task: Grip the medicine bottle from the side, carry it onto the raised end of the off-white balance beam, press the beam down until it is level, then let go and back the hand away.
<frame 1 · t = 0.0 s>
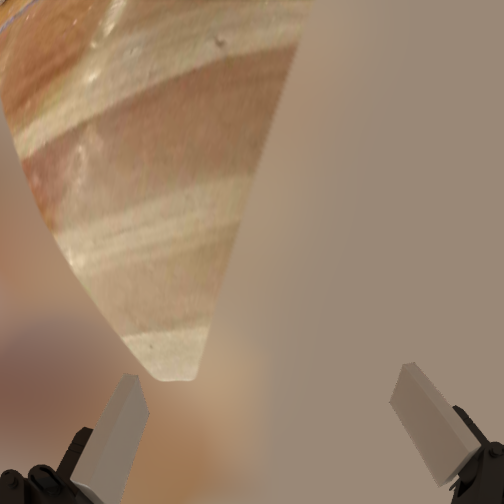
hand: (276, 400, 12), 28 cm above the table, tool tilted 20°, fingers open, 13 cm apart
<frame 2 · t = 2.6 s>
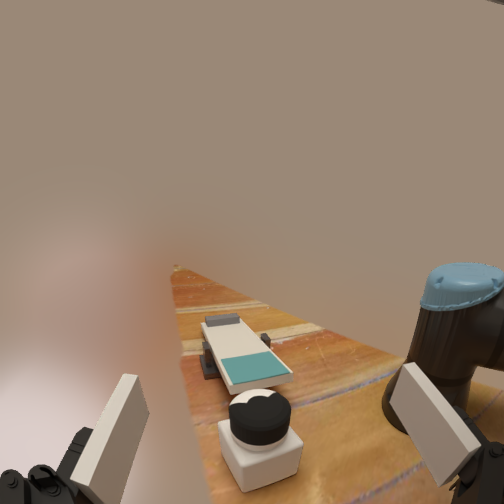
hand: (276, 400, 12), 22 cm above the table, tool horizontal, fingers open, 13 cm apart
fulcrum: (237, 364, 48), on the table
beam: (236, 343, 48), point 5 cm above the table, hinge at -10.0°
medicine bottle: (258, 465, 27), on the table
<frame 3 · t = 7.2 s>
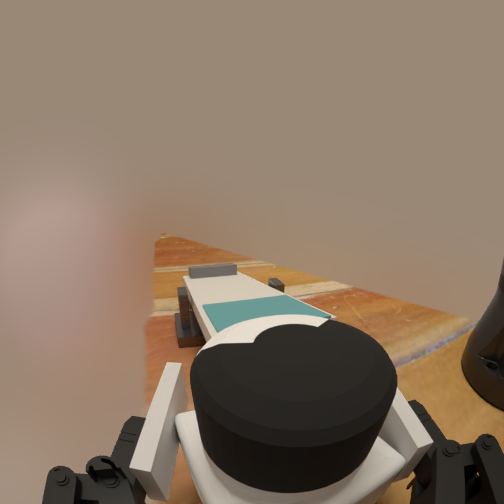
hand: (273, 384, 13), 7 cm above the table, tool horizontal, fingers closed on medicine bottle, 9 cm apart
fulcrum: (232, 327, 32), on the table
beam: (230, 290, 31), point 5 cm above the table, hinge at -10.0°
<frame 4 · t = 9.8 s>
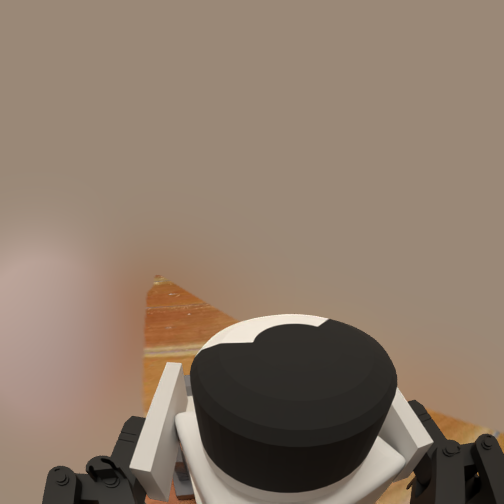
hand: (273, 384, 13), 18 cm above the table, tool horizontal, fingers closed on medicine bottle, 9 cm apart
fulcrum: (235, 469, 22), on the table
beam: (232, 445, 21), point 5 cm above the table, hinge at -10.0°
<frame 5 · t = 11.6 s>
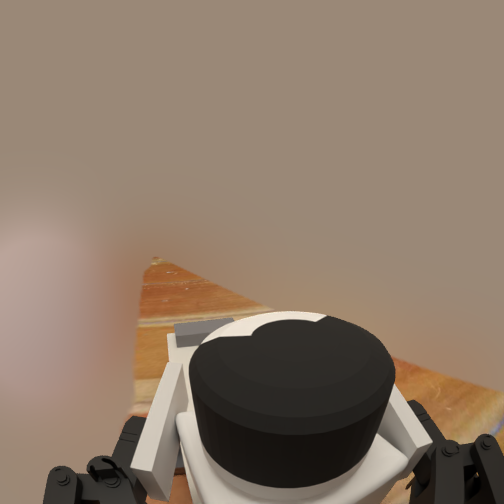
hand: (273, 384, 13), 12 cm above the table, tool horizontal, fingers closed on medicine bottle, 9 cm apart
beam: (231, 407, 20), point 5 cm above the table, hinge at -1.2°, touching medicine bottle
when the fingers open (12 cm above the table, at t = 12.6 s): medicine bottle stays where it is, resting on beam.
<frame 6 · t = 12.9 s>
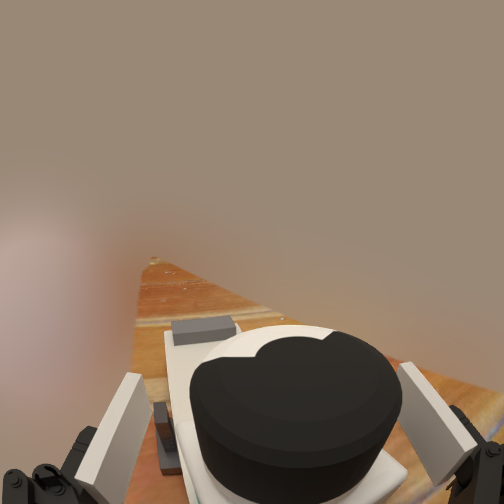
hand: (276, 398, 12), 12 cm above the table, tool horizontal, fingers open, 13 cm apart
fulcrum: (231, 440, 21), on the table
beam: (228, 407, 19), point 5 cm above the table, hinge at 0.2°, touching medicine bottle
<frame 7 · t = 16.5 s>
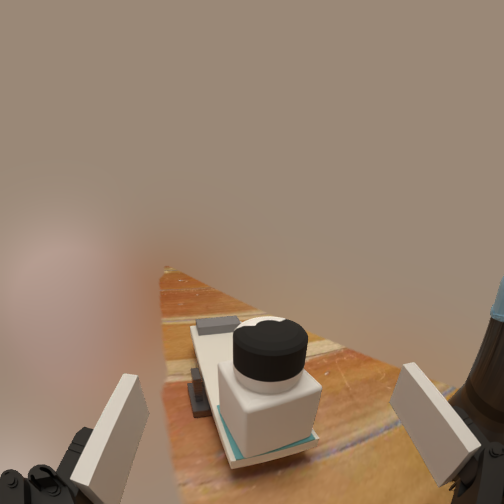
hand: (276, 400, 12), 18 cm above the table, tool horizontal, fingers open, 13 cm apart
fulcrum: (237, 396, 35), on the table
beam: (237, 371, 34), point 5 cm above the table, hinge at 0.2°, touching medicine bottle
medicine bottle: (263, 427, 24), point 5 cm above the table, touching beam
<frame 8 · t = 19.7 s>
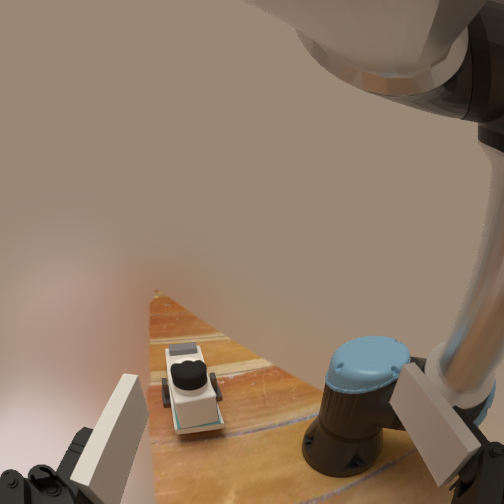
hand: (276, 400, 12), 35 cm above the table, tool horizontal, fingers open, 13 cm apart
fulcrum: (191, 395, 56), on the table
beam: (188, 380, 54), point 5 cm above the table, hinge at 0.2°, touching medicine bottle
medicine bottle: (195, 413, 45), point 5 cm above the table, touching beam
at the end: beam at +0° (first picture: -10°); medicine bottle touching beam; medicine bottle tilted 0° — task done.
